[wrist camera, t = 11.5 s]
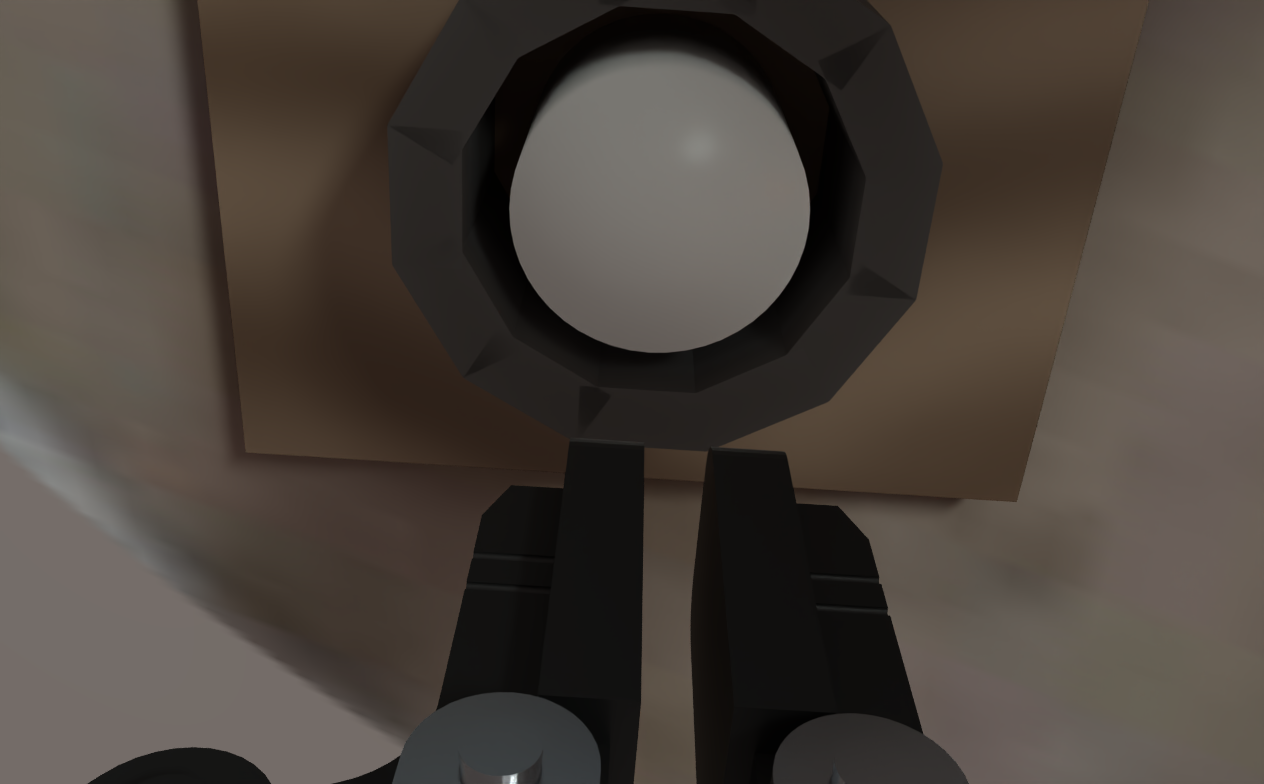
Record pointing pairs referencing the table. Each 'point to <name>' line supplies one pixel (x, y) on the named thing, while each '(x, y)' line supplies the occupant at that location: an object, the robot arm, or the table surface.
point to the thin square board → (684, 380)
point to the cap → (659, 187)
